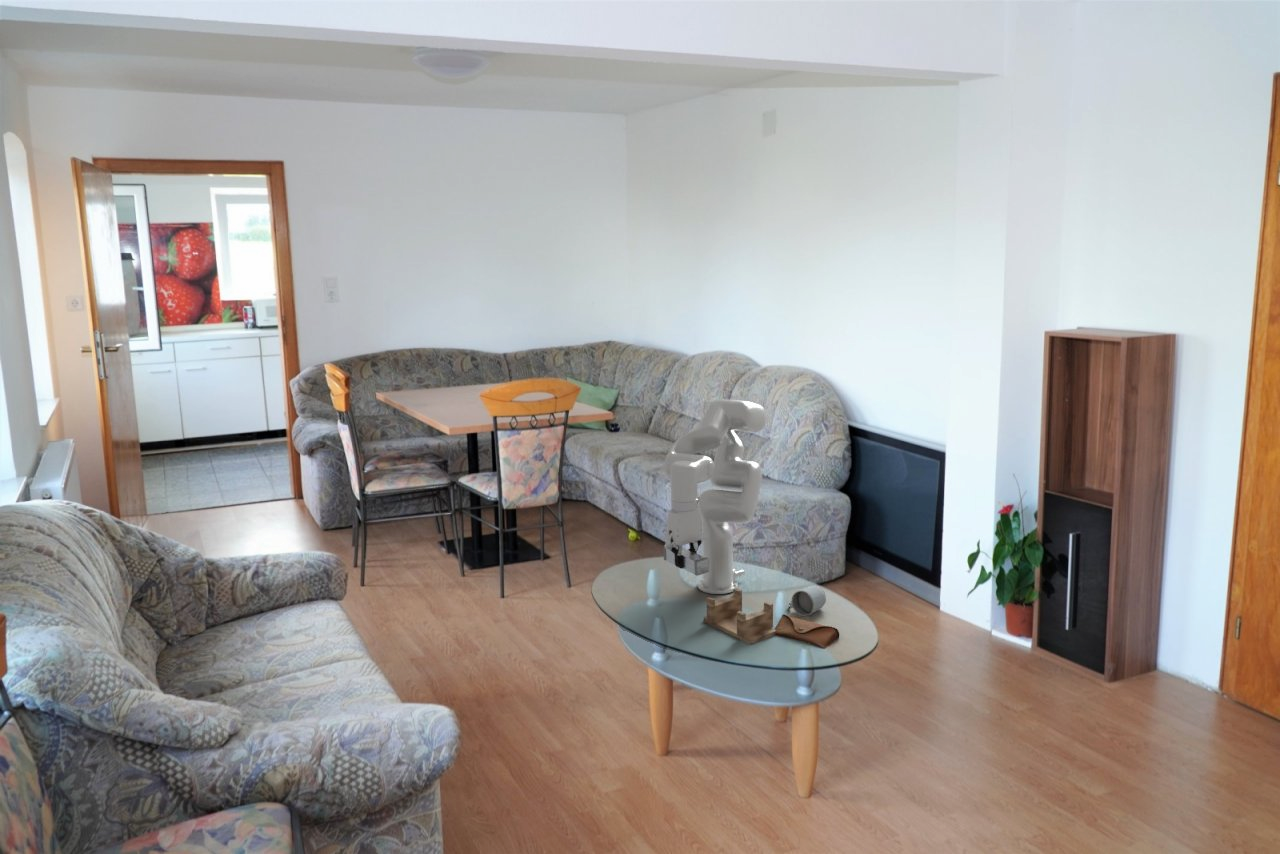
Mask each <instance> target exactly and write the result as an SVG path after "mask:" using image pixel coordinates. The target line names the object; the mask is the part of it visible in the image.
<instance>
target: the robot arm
mask: <svg viewBox="0 0 1280 854" xmlns="http://www.w3.org/2000/svg"><path fill="white" fill-rule="evenodd" d="M766 423H767V413H766V410H765V408H764V407H763V406H762V405H761V404H758V403H755V402H752V401H748V400H747V401H746V400H741V399H737V400H736V399H720V398H719V399H716V400H713V401H711V402H710V403H709V405H708V407H707V409H706V411H705V413H704V415H703V416H702V419H701V420H700V423H699V425H697V428H695V429H693V430H691V431H689V432H687V433H686V434H684V435H683V436H681V437H679V438H677V440H675V441H674V442H673V444H672V446H670V449H669V451H668V453H667V455H666V457H665V460H664V466H663V469H664V473H665V475H666V477H668V478H670V503H671V504H670V506H671V508H670V509H669V510H668V513H667V518H666V530H665V531H666V534H665V537H666V538H665V540H666V541H665V544H664V545H663V546H664V547H665V548H667V549H669V550H671V551H672V552H673V553H674V554H675V565H674V566H676V568H679V569H682V568H683V555H681V553H682V547H683V546H684V545H689V548H687V550H690V551H692V552H694V553H696V554H698V551H699V547H700V546H701V553H702V554H701V556H703V557H707V558H708V560H709V572H708V573H705V574H702V579H700V580H698V582H697V587H698V590H699V591H701V592H703V593H705V594H711V595H725V594H730V593H733V589H735V588H738V589H739V582H738V581H737V580H736V579H738V577H742V576H744V575H745V570H744V569H739V570H736V569H735V568H734V546H733V545H734V539H733V538H734V537H733V530H732V529H731V525H729V523H733V524H743V525H744V524H748V523H750V522H751V521H752V520H753V519H754V516H755V513H756V508H757V504H758V500H759V494H760V491H761V487H762V486H761V485H762V479H763V473H762V468H761V465H760V464H759V463H758V462H755V461H752V460H745V459H743V457H744V452H745V448H744V444H743V442H742V440H741V439H740V437H739V436H738V434H736V432H735V431H737V432H738V431H739V432H751V433H757V432H761V431H762V430H763V429H764V427H765V426H766ZM713 449H716V451H715V455H714V459H712V458H711V457H709V456H707V455H703V454H697V453H702V452H706V451H710V450H713ZM709 479H710V483H711V485H713V487H715V488H718V489H707V490H704V491H702V492H701V494H700V495H699V496H698V484H700V483H705V482H706V481H708V480H709ZM673 543H674V544H673ZM672 544H673V546H672ZM664 547H663V548H664ZM677 547H678V550H677Z"/></svg>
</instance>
